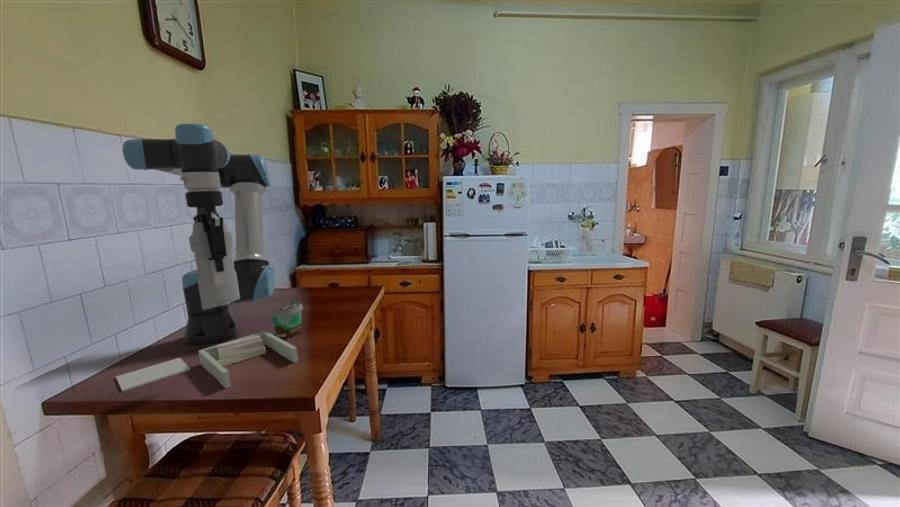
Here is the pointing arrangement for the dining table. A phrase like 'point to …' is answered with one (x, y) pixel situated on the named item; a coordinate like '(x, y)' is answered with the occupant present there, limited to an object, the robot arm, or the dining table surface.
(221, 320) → the robot arm
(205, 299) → the tall pale column
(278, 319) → the food container
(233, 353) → the offcut upper
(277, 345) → the rack
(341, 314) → the dining table surface
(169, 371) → the mat
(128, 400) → the dining table surface
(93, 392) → the dining table surface
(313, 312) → the dining table surface
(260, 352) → the offcut lower
